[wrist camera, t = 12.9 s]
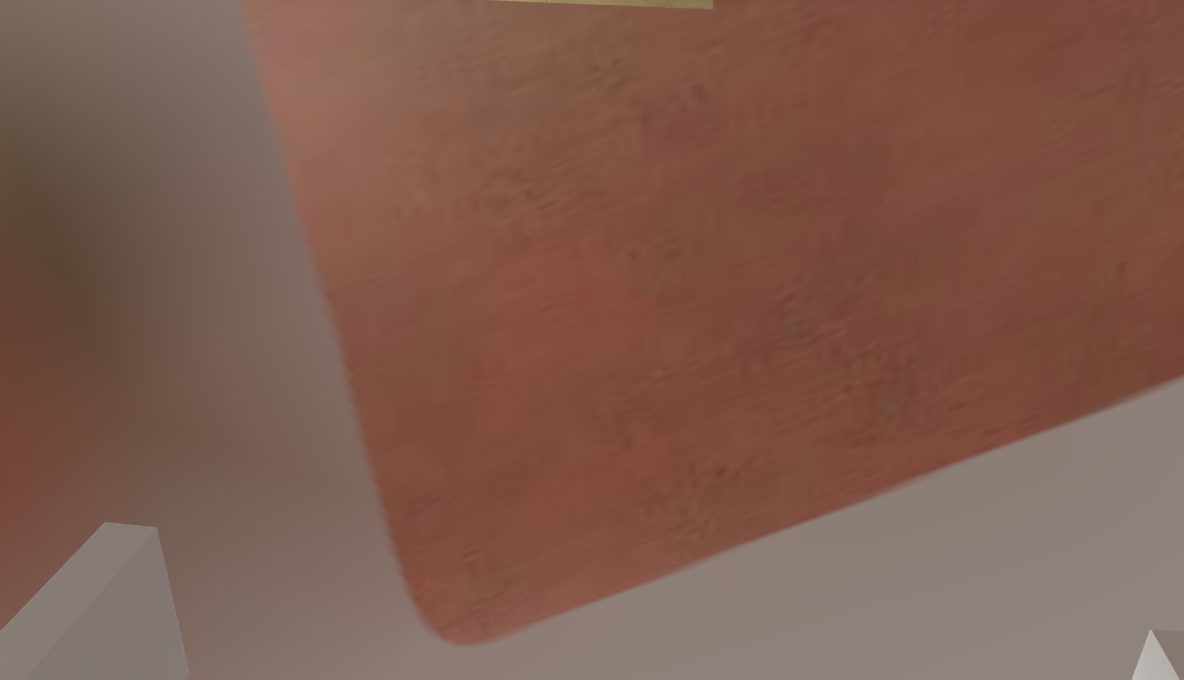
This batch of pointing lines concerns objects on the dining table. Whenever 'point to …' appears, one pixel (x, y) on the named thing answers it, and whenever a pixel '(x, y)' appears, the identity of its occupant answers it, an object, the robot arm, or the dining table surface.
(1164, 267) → the dining table surface
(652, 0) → the mount
